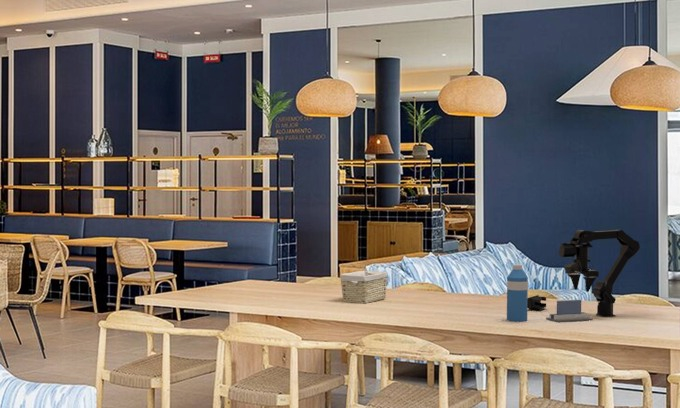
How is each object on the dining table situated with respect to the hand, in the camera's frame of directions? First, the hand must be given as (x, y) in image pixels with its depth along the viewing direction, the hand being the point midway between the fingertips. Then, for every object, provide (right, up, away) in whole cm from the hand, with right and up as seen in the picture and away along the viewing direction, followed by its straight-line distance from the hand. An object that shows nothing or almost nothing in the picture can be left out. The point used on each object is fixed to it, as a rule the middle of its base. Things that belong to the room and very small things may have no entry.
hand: (581, 290), depth 437 cm
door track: (-8, -12, -11) cm, 19 cm away
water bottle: (-32, -12, -13) cm, 37 cm away
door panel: (-9, -11, -11) cm, 18 cm away
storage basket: (-100, -11, +54) cm, 114 cm away
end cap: (-17, -12, +22) cm, 30 cm away
